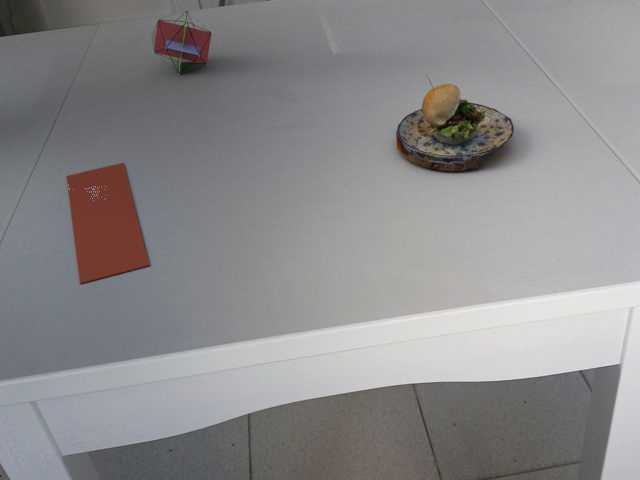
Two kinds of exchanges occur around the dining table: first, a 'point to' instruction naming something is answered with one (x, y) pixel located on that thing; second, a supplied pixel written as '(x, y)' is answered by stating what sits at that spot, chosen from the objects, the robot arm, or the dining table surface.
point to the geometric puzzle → (181, 41)
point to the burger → (451, 131)
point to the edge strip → (105, 224)
